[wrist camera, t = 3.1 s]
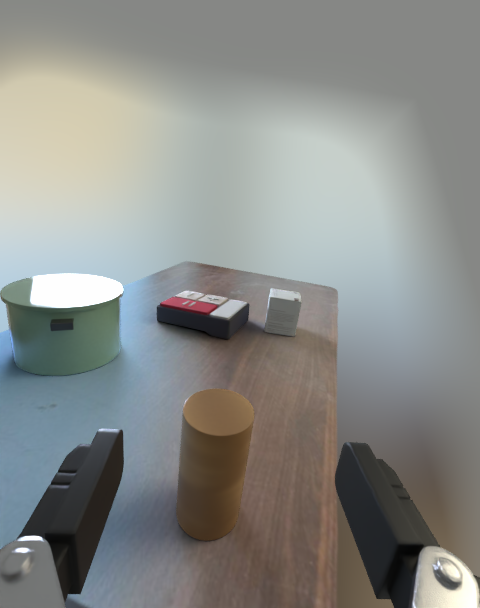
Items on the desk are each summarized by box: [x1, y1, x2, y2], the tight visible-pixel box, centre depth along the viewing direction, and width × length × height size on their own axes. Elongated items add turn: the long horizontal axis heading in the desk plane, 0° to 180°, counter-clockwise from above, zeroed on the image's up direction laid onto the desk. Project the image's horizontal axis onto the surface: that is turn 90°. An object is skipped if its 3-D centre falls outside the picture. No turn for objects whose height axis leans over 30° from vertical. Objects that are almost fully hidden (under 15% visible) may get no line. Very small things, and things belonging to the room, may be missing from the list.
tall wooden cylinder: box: [176, 389, 254, 541], centre depth 25 cm, size 5×5×10 cm
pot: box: [0, 274, 123, 376], centre depth 46 cm, size 15×17×10 cm
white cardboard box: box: [264, 288, 301, 337], centre depth 62 cm, size 6×6×7 cm
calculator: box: [157, 291, 249, 339], centre depth 63 cm, size 11×4×15 cm
